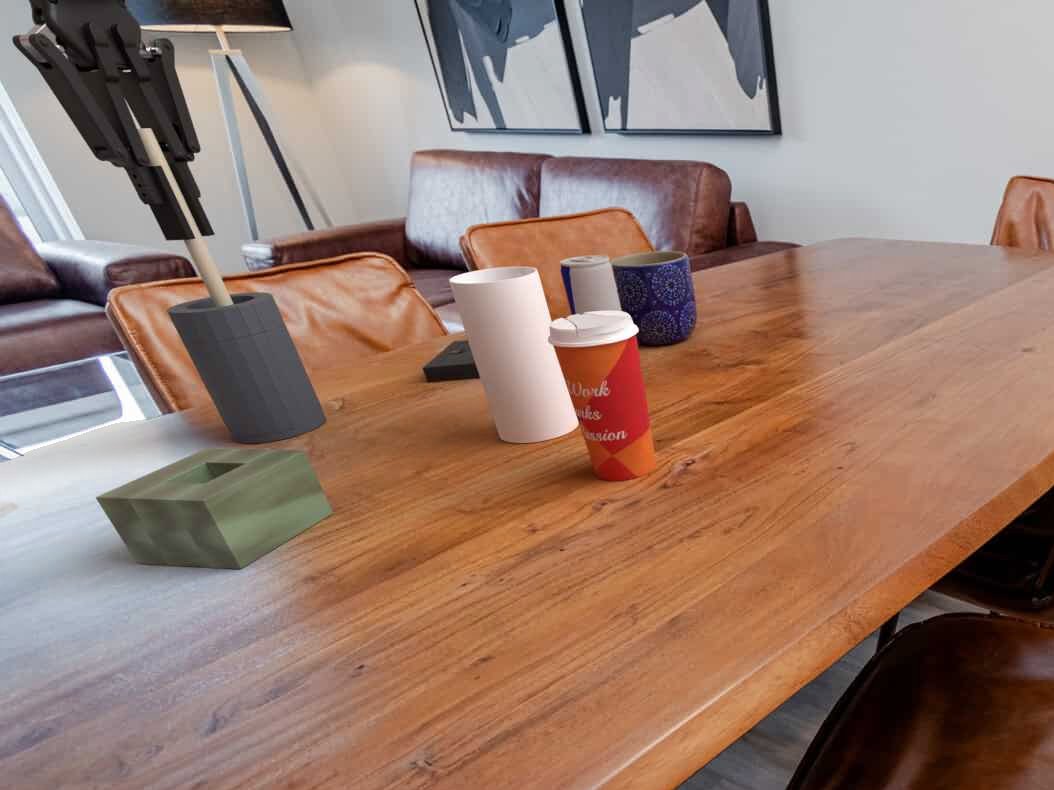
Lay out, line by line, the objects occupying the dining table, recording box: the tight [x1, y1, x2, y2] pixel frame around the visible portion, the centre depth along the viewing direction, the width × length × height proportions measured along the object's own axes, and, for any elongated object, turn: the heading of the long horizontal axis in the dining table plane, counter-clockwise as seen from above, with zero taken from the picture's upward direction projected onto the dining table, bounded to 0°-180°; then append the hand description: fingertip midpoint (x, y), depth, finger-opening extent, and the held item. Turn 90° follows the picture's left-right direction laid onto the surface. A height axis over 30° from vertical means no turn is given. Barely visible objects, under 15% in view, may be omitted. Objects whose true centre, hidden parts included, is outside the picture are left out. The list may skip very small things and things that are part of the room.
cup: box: [448, 266, 579, 444], centre depth 85 cm, size 8×8×16 cm
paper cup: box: [548, 311, 657, 482], centre depth 75 cm, size 8×8×14 cm
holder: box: [95, 448, 334, 570], centre depth 69 cm, size 10×10×6 cm
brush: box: [137, 128, 234, 307], centre depth 84 cm, size 3×3×23 cm
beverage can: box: [559, 254, 622, 315], centre depth 97 cm, size 6×6×15 cm
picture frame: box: [422, 339, 480, 383], centre depth 113 cm, size 13×2×18 cm
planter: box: [609, 250, 698, 347], centre depth 116 cm, size 11×11×11 cm
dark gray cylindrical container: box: [166, 291, 327, 445], centre depth 90 cm, size 9×9×14 cm
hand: (190, 237), depth 83 cm, fingers closed on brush, 2 cm apart
